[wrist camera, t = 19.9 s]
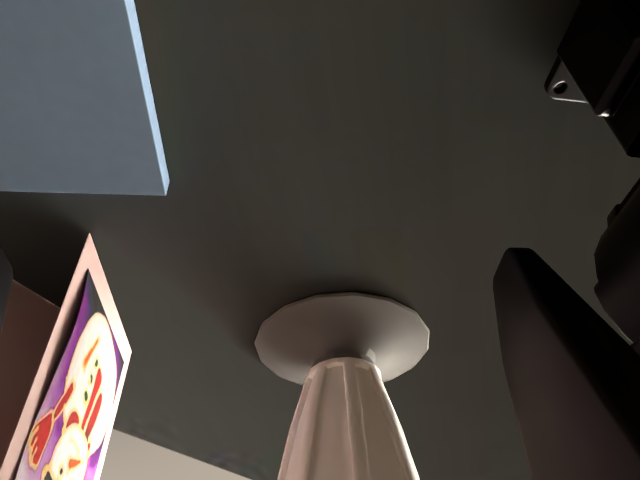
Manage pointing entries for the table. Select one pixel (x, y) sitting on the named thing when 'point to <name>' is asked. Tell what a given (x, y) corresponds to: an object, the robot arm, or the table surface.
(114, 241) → the table surface
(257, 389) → the table surface
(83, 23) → the mat
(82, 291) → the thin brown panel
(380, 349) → the cup
